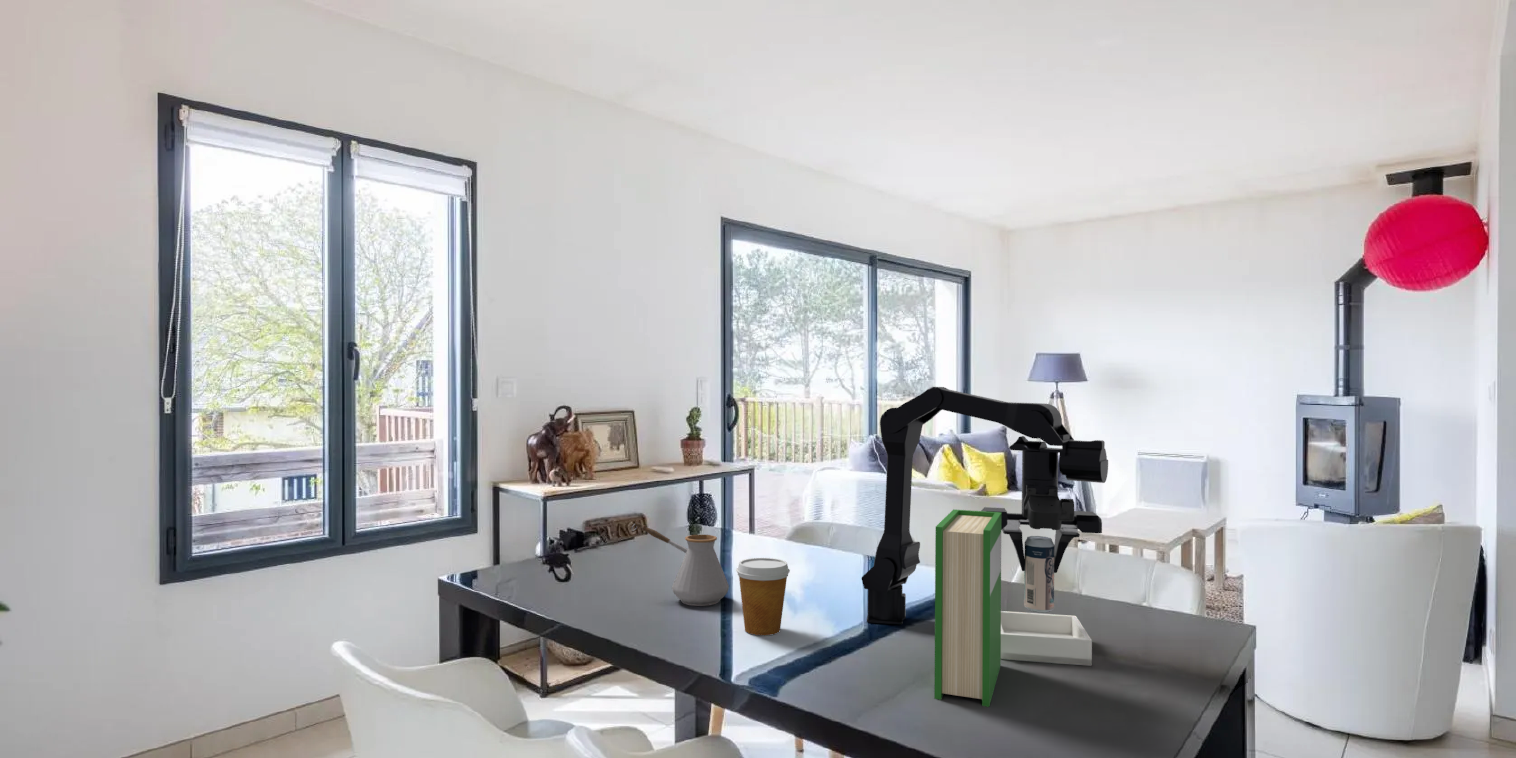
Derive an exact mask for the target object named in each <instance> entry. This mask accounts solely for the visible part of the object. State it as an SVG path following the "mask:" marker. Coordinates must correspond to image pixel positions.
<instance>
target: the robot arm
mask: <svg viewBox="0 0 1516 758" xmlns="http://www.w3.org/2000/svg"><path fill="white" fill-rule="evenodd" d="M941 411H947V412H951V413H955V414H959V415H963V416H968V417H973V418H975V419H980V420H983V421H984V420H985V421H990V422H992V423H993V422H994V423H997V424H1000V425H1003V426H1004V427H1006V428H1008V429H1010V430H1011V431H1014V432H1016V433H1018V434H1021V435H1022V436H1021V435H1020V436H1019V437H1018V438H1017V439H1016V441H1015V442H1014V443H1013V444H1011V445H1009V450H1011V451H1020V452H1021V453H1022V454H1021V469H1022V470H1021V513H1016V512H1014V513H1013V512H1012V513H1011V512H1008V511H1007V510H1006V509H1005V507H986V506H985V507H983V508H982V509H981V510H980V511H987V512H1002V514H1001V532H1002V534H1004V535H1008V536H1009V537H1010V539H1011V542H1012V545H1013V547H1014V550H1015V552H1016V555H1017V559H1018V563H1019V566H1020V568H1021V571H1022V572H1024V571H1025V559H1024V554H1025V549H1024V542H1023V531H1022V530H1021V529H1020V527H1021V525H1025V526H1029V527H1030V528H1031V529H1033V530H1040V529H1044V530H1045V529H1046V530H1047V529H1051V530H1052V531H1055V535H1054V545H1055V546H1054V574H1057V573H1058V571H1059V568H1060V565H1061V562H1062V560H1063V557H1064V555H1065V551H1066V550H1067V548H1068V546H1069V544H1070V542H1072V540H1073V539H1075V538H1080V535H1081V534H1080V533H1079V531H1080V532H1081V533H1083V534H1085V533H1086V534H1102V533H1103V521H1102V518H1101V517H1100V516H1099V515H1098V514H1096V513H1095V512H1094V511H1086V510H1085V511H1083V510H1082V511H1081V510H1075V501H1074V499H1073V498H1059V472H1060V474H1061V475H1062V476H1065V479H1066V480H1067V481H1072V482H1073V481H1074V482H1084V483H1085V482H1086V483H1099V484H1105V483H1106V481H1107V478H1108V474H1109V460H1108V456H1107V451H1106V448H1105V444H1106V443H1105V441H1104V440H1100V439H1096V440H1075V439H1074V438H1073V437H1072V435H1071V434H1070V432H1069V431H1068V430H1067V429H1066V427H1065V425H1064V424H1063V421H1062V420H1063V417H1062V415H1061V413H1060V411H1059V409H1058V408H1057V407H1056V406H1054V405H1053V404H1049V403H1038V402H1033V403H1032V402H1014V401H1013V402H1011V401H1010V402H1009V401H1008V402H1007V401H1004V400H998V399H994V398H990V397H984V396H981V395H975V394H970V393H966V392H962V391H959V390H958V391H957V390H953V389H949V388H947V387H944V386H931V387H928V388H927V389H926V390H924V391H923V392H921V394H919V395H918V396H915V397H913V398H912V399H909V400H908V401H906V402H904V403H903V404H901V405H900V406H898V407H891V408H889V409H886V411H884V412H883V413H882V414H881V415H880V416H881V417H880V419H879V427H880V428H879V429H880V438H881V442H882V445H883V447H884V451H885V452H886V456H887V458H886V459H887V460H886V480H885V501H884V503H885V504H884V505H885V506H884V507H885V508H884V526H883V527H884V529H883V532H882V536H881V538H880V540H879V542H878V544H877V547H876V552H875V556H874V560H873V566H872V567H871V568H870V569H869V570H868V571H866V573H864V575H862V576H861V582H862V586H863V588H864V590H867V617H866V622H867V623H872V624H873V623H876V624H889V625H890V624H891V625H903V621H904V620H905V619H906V614H907V613H906V612H907V611H906V610H907V609H906V605H907V604H906V601H907V599H906V598H907V597H906V593H904V592H903V588H904V587H903V584H904V585H905V584H907V582H908V579H909V576H911V575H912V574H914V573H915V571H916V569H917V565H918V564H920V563H921V560H920V555H919V553H920V548H921V542H920V541H914V540H913V537H912V535H911V531H910V530H911V529H910V527H911V526H910V524H911V523H910V522H911V505H912V503H911V501H912V480H913V479H912V477H913V459H914V453H915V452H916V449H917V447H918V445H919V443H920V440H921V436H922V431H923V426H924V425H926V423H928V422H929V421H931V420H933V418H935V416H936V415H938V414H939V413H940V412H941ZM1026 437H1028V438H1030V439H1039V440H1040V441H1035V440H1028V439H1027V438H1026ZM1048 446H1054V447H1048ZM1060 446H1061V448H1060ZM1058 447H1059V448H1058Z"/></svg>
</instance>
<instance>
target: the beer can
mask: <svg viewBox="0 0 1516 758" xmlns="http://www.w3.org/2000/svg"><path fill="white" fill-rule="evenodd" d="M1054 546H1055V542H1053V539H1052V538H1051V537H1048V536H1041V535H1030V536H1027V537H1026V539H1025V541H1024V559H1025V571H1023V574H1024V575H1023V577H1024V578H1023V579H1024V580H1023V581H1024V583H1023V607H1024V608H1026V609H1027V610H1028V611H1030V612H1032V613H1040V614H1048V613H1050V612H1051V611H1053V610H1054V609H1055V573H1054Z"/></svg>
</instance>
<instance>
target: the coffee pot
mask: <svg viewBox="0 0 1516 758" xmlns="http://www.w3.org/2000/svg"><path fill="white" fill-rule="evenodd" d="M634 526H635V528H634ZM633 528H634V529H633ZM637 528H640V529H641V531H643V532H644V531H645V532H646V533H648V534H649V535H650V536H651V537H653V538H655V539H657V540H660V541H661V542H665V544H669V545H671V546H672V547H674V548H676V549H678V550H679V551H681V552H683V553H684V554H685V555H684V557H683V559H682V562H681V565H680V567H679V569H678V572H677V574H676V576H675V578H674V580H673V583H672V586H671V589H672V592H673V594H674V596H676V598H677V599H679V600H681V601H680V602H681V603H683V605H688V606H692V607H695V606H696V607H706V606H707V607H708V606H712V605H716V604H719V602H720V600H721V599H723V598H724V597H725V596H726V595H727V594H728V591H729V590H730V589H729V588H730V585H729V583H728V581H727V578H726V575H725V572H724V570H723V568H722V565H721V563H720V561H719V558H718V556H717V553H716V550H715V548H714V546H715V541H717V540H718V538H717V536H716V535H712V534H691V535H687V536H685V537H684V539H685V541H686V543H687V547H688V548H686V547H684V546H683V545H681V544H679V543H677V542H675V541H673V540H671V539H669V538H668V537H667V536H665V535H664V534H662V533H660V532H659V531H657V530H655V529H652V528H650V527H647V525H646V524H645V525H643V524H641V523H640V522H637V521H635V522H634V523H633V525H632V526H631V529H630V530H631V531H632V532H634V531H635V530H637Z"/></svg>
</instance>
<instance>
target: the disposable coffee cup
mask: <svg viewBox="0 0 1516 758" xmlns="http://www.w3.org/2000/svg"><path fill="white" fill-rule="evenodd" d="M737 566H738V567H736V570H735V572H736V573H737V576H738V580H739V581H738V582H739V589H740V597H741V598H740V599H741V607H742V617H743V624H744V631H745V633H747V632H748V633H747V634H749V635H753V634H755V636H762V635H764V636H771V635H772V634H773V635H775V634H778V633H780V632H781V625H782V616H783V609H784V603H785V602H784V601H785V595H786V587H787V578H788V577H789V573H790V571H791V569H790V568H789V565H788V562H787V561H785V560H783V559H779V558H773V557H772V558H771V557H752V558H751V557H750V558H745V559H742V560H739V562H738V565H737ZM779 631H780V632H779Z"/></svg>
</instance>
